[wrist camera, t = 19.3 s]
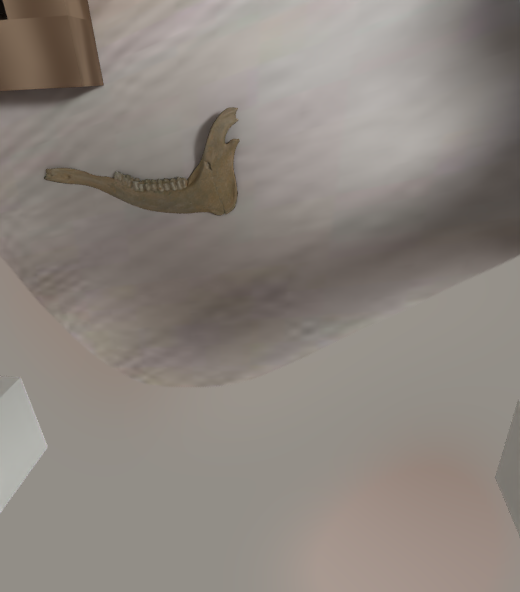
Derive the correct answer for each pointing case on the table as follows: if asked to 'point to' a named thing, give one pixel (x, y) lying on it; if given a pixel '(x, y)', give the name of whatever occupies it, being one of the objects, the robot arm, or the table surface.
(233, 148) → the jawbone
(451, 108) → the table surface
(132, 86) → the table surface
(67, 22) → the socket block
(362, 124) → the table surface
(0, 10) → the metal pin
